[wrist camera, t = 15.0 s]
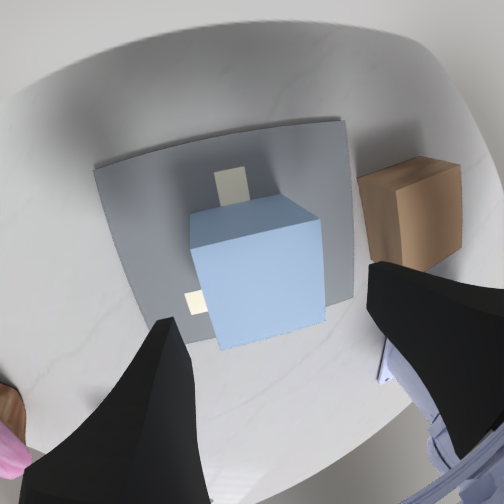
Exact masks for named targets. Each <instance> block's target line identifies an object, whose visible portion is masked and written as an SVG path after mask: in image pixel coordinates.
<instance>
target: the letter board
mask: <svg viewBox="0 0 504 504" xmlns="http://www.w3.org/2000/svg"><path fill="white" fill-rule="evenodd" d="M93 172H94V176H95V180H96V184H97V188H98V192H99V195H100V199H101V202H102V206H103V209H104V213H105V216H106V219H107V222H108V226H109V229H110V232H111V235H112V238H113V241H114V244H115V247H116V250H117V252H118V255H119V258H120V261H121V263H122V266H123V269H124V271H125V274H126V277H127V279H128V282H129V284H130V287H131V289H132V292H133V294H134V297H135V299H136V301H137V304H138V306H139V308H140V311H141V313H142V315H143V317H144V320H145V322H146V324H147V326H148V328H149V331H150V330H151V329H152V327H153V325H154V324H155V322H156V321H157V320H160V319H164V318H169V317H173V316H174V319H175V322H176V324H177V327H178V329H179V332H180V334H181V336H182V339H183V341H184V344H188V343H193V342H198V341H202V340H207V339H211V338H215V337H216V334H215V331H214V328H213V325H212V322H211V319H210V316H209V312H208V309H207V306H206V303H205V299H204V296H203V293H202V289H201V286H200V283H199V279H198V276H197V272H196V269H195V265H194V262H193V258H192V254H191V251H190V214H192V213H196V212H200V211H204V210H208V209H213V208H217V207H221V206H226V205H230V204H235V203H239V202H244V201H249V200H253V199H258V198H263V197H268V196H273V195H278V194H282V195H284V196H285V197H287V198H289V199H290V200H292V201H293V202H295V203H297V204H298V205H300V206H301V207H303V208H304V209H306V210H307V211H309V212H311V213H312V214H314V215H315V216H317V217H318V218H320V219H321V232H322V246H323V263H324V284H325V307H327V306H330V305H333V304H336V303H339V302H342V301H345V300H348V299H351V298H353V290H354V228H353V203H352V187H351V173H350V162H349V151H348V142H347V134H346V126H345V121H332V122H319V123H307V124H297V125H288V126H280V127H272V128H265V129H258V130H252V131H246V132H240V133H234V134H229V135H223V136H218V137H213V138H208V139H203V140H199V141H194V142H190V143H186V144H181V145H177V146H173V147H169V148H165V149H161V150H158V151H154V152H150V153H147V154H143V155H140V156H136V157H133V158H130V159H126V160H123V161H120V162H117V163H114V164H111V165H108V166H105V167H102V168H99V169H96V170H93Z"/></svg>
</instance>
